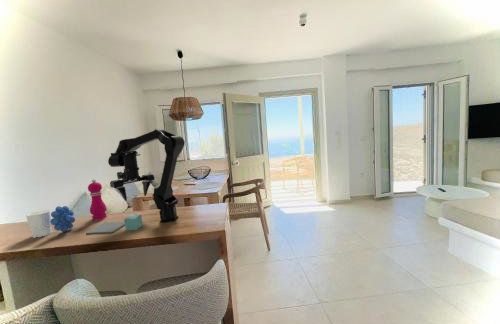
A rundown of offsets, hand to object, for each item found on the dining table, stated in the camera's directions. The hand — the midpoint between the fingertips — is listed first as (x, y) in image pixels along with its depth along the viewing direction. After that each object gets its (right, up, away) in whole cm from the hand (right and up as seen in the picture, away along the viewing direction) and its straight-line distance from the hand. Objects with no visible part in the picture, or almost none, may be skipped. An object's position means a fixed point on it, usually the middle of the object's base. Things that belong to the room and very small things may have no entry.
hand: (135, 198), depth 119 cm
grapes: (-26, -14, -9) cm, 31 cm away
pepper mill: (-22, -11, +7) cm, 26 cm away
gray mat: (-8, -12, -9) cm, 17 cm away
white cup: (-36, -15, -10) cm, 40 cm away
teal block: (+4, -11, -11) cm, 16 cm away
